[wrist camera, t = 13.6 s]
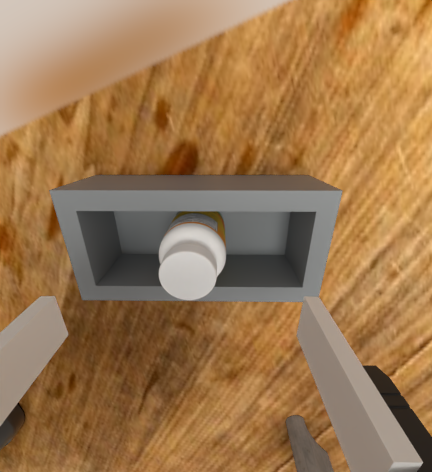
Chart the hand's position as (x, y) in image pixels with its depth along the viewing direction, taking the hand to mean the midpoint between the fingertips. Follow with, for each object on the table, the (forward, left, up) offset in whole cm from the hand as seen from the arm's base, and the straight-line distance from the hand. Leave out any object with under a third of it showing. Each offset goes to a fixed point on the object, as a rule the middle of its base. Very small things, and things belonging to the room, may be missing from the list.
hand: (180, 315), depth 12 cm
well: (0, 0, -14) cm, 14 cm away
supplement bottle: (0, 0, -13) cm, 13 cm away
